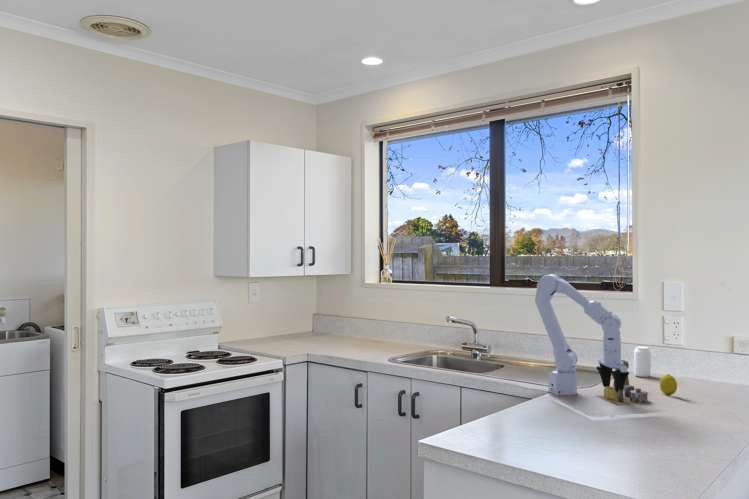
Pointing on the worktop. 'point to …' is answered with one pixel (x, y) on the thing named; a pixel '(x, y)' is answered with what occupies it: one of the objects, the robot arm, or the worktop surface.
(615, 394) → the gear
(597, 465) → the worktop surface
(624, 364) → the cork
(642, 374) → the beverage can
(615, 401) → the gear board
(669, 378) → the lemon
